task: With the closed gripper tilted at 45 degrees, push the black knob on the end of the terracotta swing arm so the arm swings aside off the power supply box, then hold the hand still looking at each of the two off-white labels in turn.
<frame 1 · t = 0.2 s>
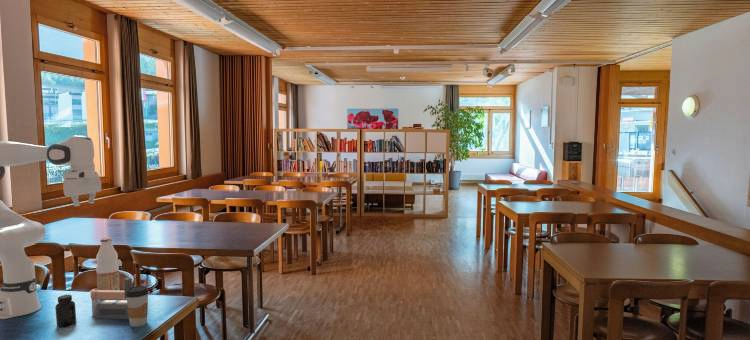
hand: (84, 204, 201), 48 cm above the table, tool pointing down, fingers open, 8 cm apart
power supply box: (117, 316, 200), on the table
coffee cup: (138, 324, 192), on the table
swing arm: (111, 288, 199), point 12 cm above the table, hinge at 0.0°
supplement bottle: (66, 325, 191), on the table
fruit juice: (108, 295, 227), on the table
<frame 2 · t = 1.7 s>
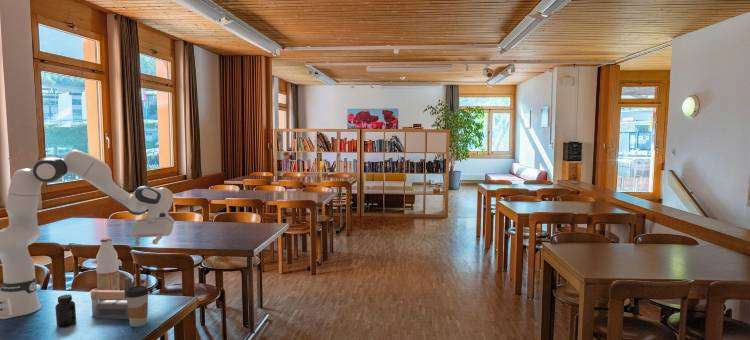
hand: (145, 244, 214), 28 cm above the table, tool tilted 40°, fingers open, 8 cm apart
nothing on the table moved.
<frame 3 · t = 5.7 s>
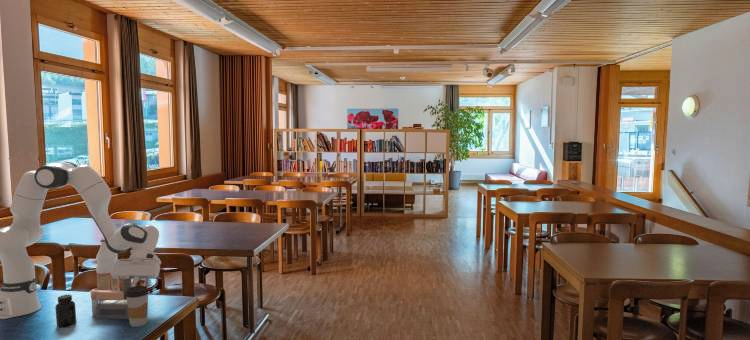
hand: (129, 287, 200), 12 cm above the table, tool tilted 45°, fingers closed, pressing on swing arm
swing arm: (110, 288, 199), point 12 cm above the table, hinge at -3.1°, touching gripper
everything else where it was.
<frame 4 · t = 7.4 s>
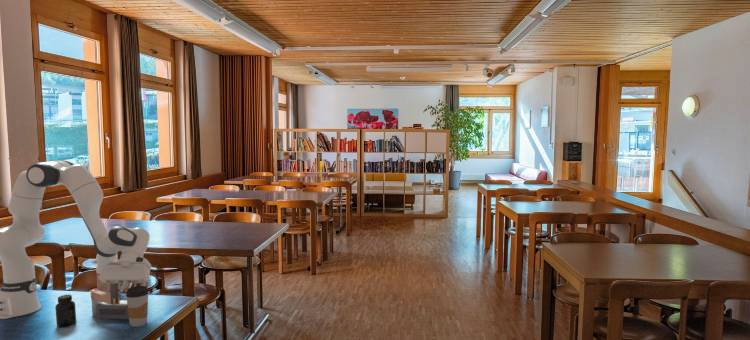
hand: (118, 291, 194), 12 cm above the table, tool tilted 45°, fingers closed, pressing on swing arm
swing arm: (104, 291, 196), point 12 cm above the table, hinge at -28.0°, touching gripper
everything else where it was.
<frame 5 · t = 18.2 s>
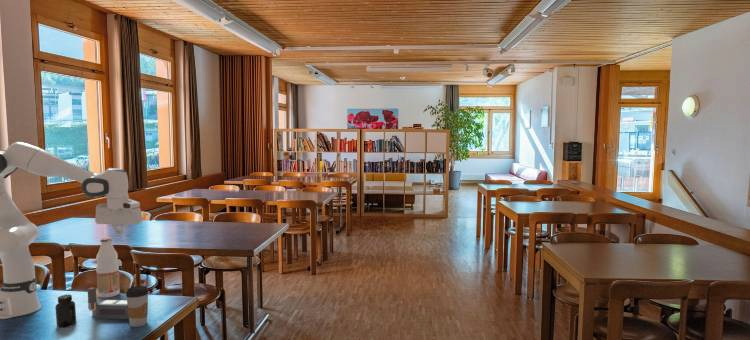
hand: (119, 233, 212), 33 cm above the table, tool pointing down, fingers closed
swing arm: (93, 293, 193), point 12 cm above the table, hinge at -59.1°
everything else where it was.
at the end: swing arm at -59° (first picture: +0°); the gripper is holding nothing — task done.
